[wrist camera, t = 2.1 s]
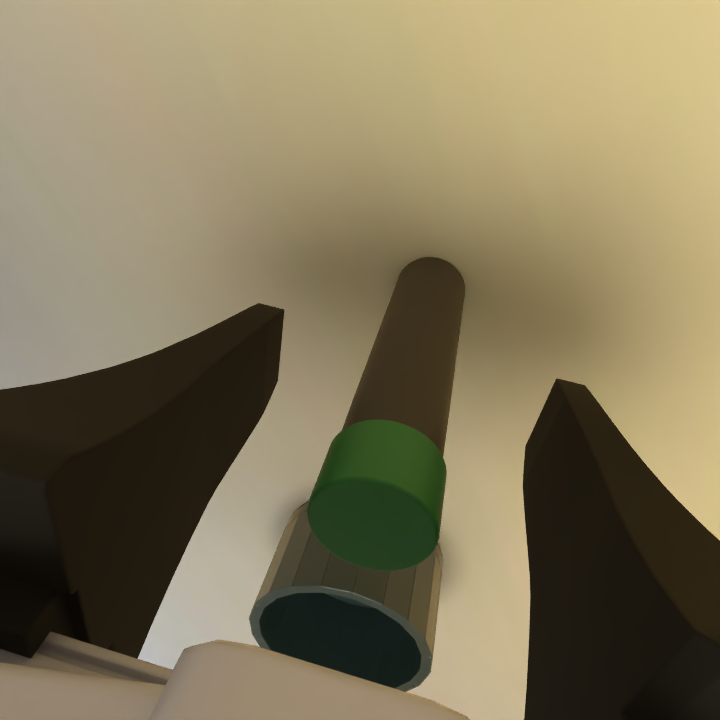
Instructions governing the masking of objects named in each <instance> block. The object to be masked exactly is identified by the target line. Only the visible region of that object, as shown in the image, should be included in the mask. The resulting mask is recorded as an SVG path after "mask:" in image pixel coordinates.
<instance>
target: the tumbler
mask: <svg viewBox="0 0 720 720" xmlns="http://www.w3.org/2000/svg"><path fill="white" fill-rule="evenodd" d="M308 503H309V502H307V503H306V504H304V505H303V506H301V507H300V508H298V509H297V510H296V511H295V512H294V513H293V515H292V516H291V517H290V519H289V521H288V523H287V526H286V528H285V530H284V533H283V535H282V537H281V540H280V542H279V545H278V547H277V550H276V552H275V555H274V557H273V559H272V562H271V564H270V567H269V569H268V572H267V574H266V577H265V579H264V581H263V584H262V586H261V589H260V591H259V594H258V596H257V599H256V601H255V603H254V606H253V609H252V611H251V614H250V616H249V620H250V625H251V631H252V634H253V637H254V638H255V640H256V641H257V643H258V644H259V646H260V647H261V648H264V649H268V650H271V651H274V652H277V653H281V654H284V655H287V656H290V657H293V658H297V659H300V660H303V661H306V662H310V663H313V664H316V665H319V666H323V667H326V668H329V669H332V670H336V671H339V672H342V673H345V674H349V675H352V676H355V677H358V678H362V679H365V680H368V681H371V682H375V683H378V684H381V685H384V686H387V687H391V688H394V689H397V690H400V691H404V692H406V691H409V690H411V689H413V688H415V687H418V686H419V685H420V684H421V683H422V682H423V681H424V680H425V679H426V677H427V676H428V675H429V674H430V672H431V666H432V659H433V650H434V641H435V631H436V622H437V613H438V604H439V594H440V585H441V576H442V555H441V552H440V548H439V546H438V544H437V545H436V547H435V549H434V551H433V552H432V553H431V555H430V556H429V557H428V558H427V559H426V560H424V561H423V562H421V563H420V564H417V565H415V566H413V567H410V568H407V569H402V570H394V571H382V570H373V569H367V568H363V567H360V566H357V565H354V564H351V563H349V562H347V561H344V560H343V559H341V558H339V557H337V556H336V555H334V554H332V553H331V552H330V551H329V550H327V549H326V548H325V547H324V546H323V545H322V544H321V543H320V542H319V541H318V540H317V538H316V537H315V535H314V534H313V532H312V530H311V528H310V526H309V522H308V516H307V507H308Z"/></svg>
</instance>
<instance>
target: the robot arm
mask: <svg viewBox="0 0 720 720" xmlns="http://www.w3.org/2000/svg"><path fill="white" fill-rule="evenodd" d="M283 318H284V309H280V308H276V307H272V306H268V305H264V304H260V303H258V304H256V305H254V306H252V307H249V308H247V309H246V310H244V311H242V312H240V313H238V314H236V315H234V316H232V317H230V318H228V319H226V320H224V321H222V322H220V323H218V324H216V325H214V326H212V327H210V328H208V329H206V330H204V331H202V332H200V333H198V334H196V335H194V336H192V337H189V338H187V339H185V340H182V341H180V342H178V343H175V344H173V345H171V346H169V347H166V348H164V349H162V350H159V351H157V352H154V353H152V354H149V355H146V356H143V357H141V358H138V359H135V360H132V361H129V362H125V363H122V364H119V365H116V366H113V367H109V368H106V369H102V370H98V371H94V372H90V373H86V374H82V375H78V376H74V377H70V378H66V379H61V380H56V381H51V382H45V383H40V384H35V385H28V386H22V387H16V388H9V389H2V390H0V720H470V719H469V718H468V717H467V716H465V715H463V714H460V713H458V712H456V711H454V710H452V709H450V708H448V707H445V706H443V705H441V704H439V703H437V702H435V701H432V700H430V699H426V698H423V697H420V696H417V695H413V694H410V693H407V692H404V691H400V690H397V689H394V688H391V687H387V686H384V685H381V684H378V683H375V682H371V681H368V680H365V679H362V678H358V677H355V676H352V675H349V674H345V673H342V672H339V671H336V670H332V669H329V668H326V667H323V666H319V665H316V664H313V663H310V662H306V661H303V660H300V659H297V658H293V657H290V656H287V655H284V654H281V653H277V652H274V651H271V650H268V649H264V648H261V647H258V646H255V645H249V644H243V643H236V642H230V641H224V640H216V641H211V642H207V643H203V644H199V645H194V646H192V647H189V648H186V649H184V650H183V652H182V654H181V656H180V658H179V659H178V661H177V663H176V665H175V667H174V669H173V670H171V669H168V668H164V667H161V666H158V665H155V664H152V663H149V662H146V661H142V660H139V659H137V658H138V656H139V654H140V651H141V649H142V646H143V644H144V642H145V639H146V637H147V634H148V632H149V630H150V627H151V625H152V623H153V620H154V618H155V616H156V614H157V611H158V609H159V607H160V605H161V602H162V600H163V598H164V596H165V593H166V591H167V589H168V586H169V584H170V582H171V580H172V577H173V575H174V573H175V571H176V569H177V567H178V565H179V562H180V560H181V558H182V556H183V554H184V552H185V550H186V547H187V545H188V543H189V541H190V539H191V537H192V535H193V533H194V531H195V529H196V527H197V525H198V523H199V521H200V518H201V516H202V514H203V512H204V510H205V508H206V506H207V504H208V502H209V501H210V499H211V497H212V495H213V494H214V492H215V490H216V488H217V487H218V485H219V483H220V482H221V480H222V479H223V477H224V476H225V474H226V472H227V471H228V469H229V468H230V466H231V464H232V463H233V461H234V460H235V458H236V457H237V455H238V453H239V452H240V450H241V449H242V447H243V446H244V444H245V442H246V441H247V439H248V438H249V436H250V434H251V433H252V431H253V430H254V428H255V426H256V425H257V423H258V422H259V420H260V418H261V417H262V415H263V413H264V411H265V409H266V406H267V404H268V402H269V400H270V398H271V395H272V393H273V391H274V389H275V386H276V384H277V382H278V373H279V362H280V351H281V340H282V329H283ZM523 495H524V509H525V522H526V534H527V546H528V559H529V571H530V594H531V599H530V631H529V654H528V673H527V691H526V704H525V718H524V720H720V541H719V540H718V539H717V538H716V537H715V536H714V535H713V534H712V533H711V532H709V531H708V530H707V529H706V528H705V527H704V526H703V525H702V524H701V523H700V522H699V521H698V520H697V519H696V518H695V517H694V516H693V515H692V514H691V513H690V512H689V511H688V510H687V509H686V508H685V507H684V506H683V505H682V504H681V503H680V502H679V501H678V500H677V499H676V498H675V497H674V496H673V495H672V494H671V493H670V492H669V491H668V490H667V488H666V487H665V486H664V485H663V484H662V483H661V482H660V480H659V479H658V478H657V477H656V476H655V475H654V474H653V472H652V471H651V470H650V469H649V468H648V467H647V465H646V464H645V463H644V462H643V461H642V459H641V458H640V457H639V456H638V454H637V453H636V452H635V451H634V449H633V448H632V447H631V446H630V444H629V443H628V442H627V440H626V439H625V438H624V437H623V435H622V434H621V433H620V431H619V430H618V429H617V427H616V426H615V425H614V423H613V422H612V421H611V419H610V418H609V416H608V415H607V414H606V412H605V411H604V410H603V408H602V407H601V406H600V404H599V403H598V402H597V400H596V399H595V398H594V396H593V395H592V394H591V392H590V391H589V390H588V389H587V387H586V386H585V385H581V384H577V383H573V382H569V381H565V380H561V379H557V378H556V381H555V383H554V385H553V387H552V389H551V392H550V394H549V396H548V398H547V400H546V403H545V405H544V407H543V409H542V411H541V413H540V416H539V418H538V420H537V422H536V424H535V427H534V429H533V431H532V433H531V435H530V438H529V440H528V442H527V444H526V447H525V459H524V474H523Z"/></svg>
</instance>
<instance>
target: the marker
mask: <svg viewBox="0 0 720 720" xmlns="http://www.w3.org/2000/svg"><path fill="white" fill-rule="evenodd" d="M464 294H465V285H464V281H463V278H462V276H461V274H460V273H459V271H458V270H457V269H456V268H455V267H454V266H453V265H451V264H450V263H448V262H446V261H444V260H442V259H438V258H422V259H418V260H415V261H413V262H411V263H410V264H408V265H407V266H406V267H405V268H404V269H403V270H402V272H401V273H400V275H399V278H398V280H397V283H396V286H395V288H394V291H393V294H392V296H391V299H390V302H389V304H388V307H387V310H386V313H385V315H384V318H383V321H382V323H381V326H380V329H379V331H378V334H377V337H376V339H375V342H374V345H373V348H372V350H371V353H370V356H369V358H368V361H367V364H366V366H365V369H364V372H363V374H362V377H361V380H360V383H359V385H358V388H357V391H356V393H355V396H354V399H353V401H352V404H351V407H350V409H349V412H348V415H347V418H346V420H345V423H344V426H343V428H342V431H341V432H340V433H339V434H338V435H337V436H336V437H335V438H334V440H333V441H332V443H331V445H330V448H329V450H328V453H327V455H326V458H325V461H324V463H323V466H322V468H321V471H320V474H319V476H318V479H317V482H316V484H315V487H314V489H313V492H312V495H311V497H310V500H309V503H308V507H307V516H308V522H309V526H310V528H311V530H312V532H313V534H314V535H315V537H316V538H317V540H318V541H319V542H320V543H321V544H322V545H323V546H324V547H325V548H326V549H327V550H329V551H330V552H331V553H332V554H334V555H336V556H337V557H339V558H341V559H343V560H344V561H347V562H349V563H351V564H354V565H357V566H360V567H363V568H367V569H373V570H382V571H394V570H402V569H407V568H410V567H413V566H415V565H417V564H420V563H421V562H423V561H424V560H426V559H427V558H428V557H429V556H430V555H431V553H432V552H433V551H434V549H435V547H436V545H437V543H438V539H439V533H440V525H441V516H442V508H443V499H444V491H445V483H446V465H445V462H444V459H443V454H444V447H445V439H446V432H447V424H448V416H449V409H450V401H451V393H452V386H453V378H454V371H455V363H456V355H457V348H458V340H459V333H460V325H461V317H462V310H463V302H464Z"/></svg>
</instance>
